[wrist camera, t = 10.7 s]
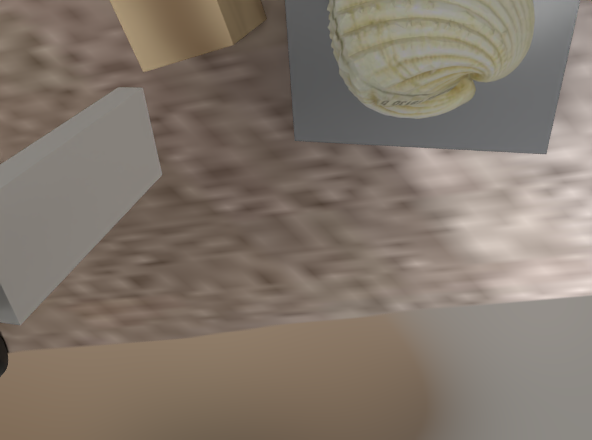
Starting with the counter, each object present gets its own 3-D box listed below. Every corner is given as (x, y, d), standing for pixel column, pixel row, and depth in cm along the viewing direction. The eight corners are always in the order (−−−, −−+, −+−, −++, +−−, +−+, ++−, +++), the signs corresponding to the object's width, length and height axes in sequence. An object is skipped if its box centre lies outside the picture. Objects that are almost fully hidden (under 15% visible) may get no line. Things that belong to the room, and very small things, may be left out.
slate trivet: (300, 132, 30) (294, 140, 29) (283, -141, 23) (275, -141, 22) (543, 144, 27) (546, 154, 26) (610, -168, 20) (617, -170, 19)
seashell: (425, 169, 26) (282, 129, 22) (414, 29, 29) (285, -28, 25) (580, 87, 19) (411, 9, 15) (544, -86, 22) (395, -187, 18)
